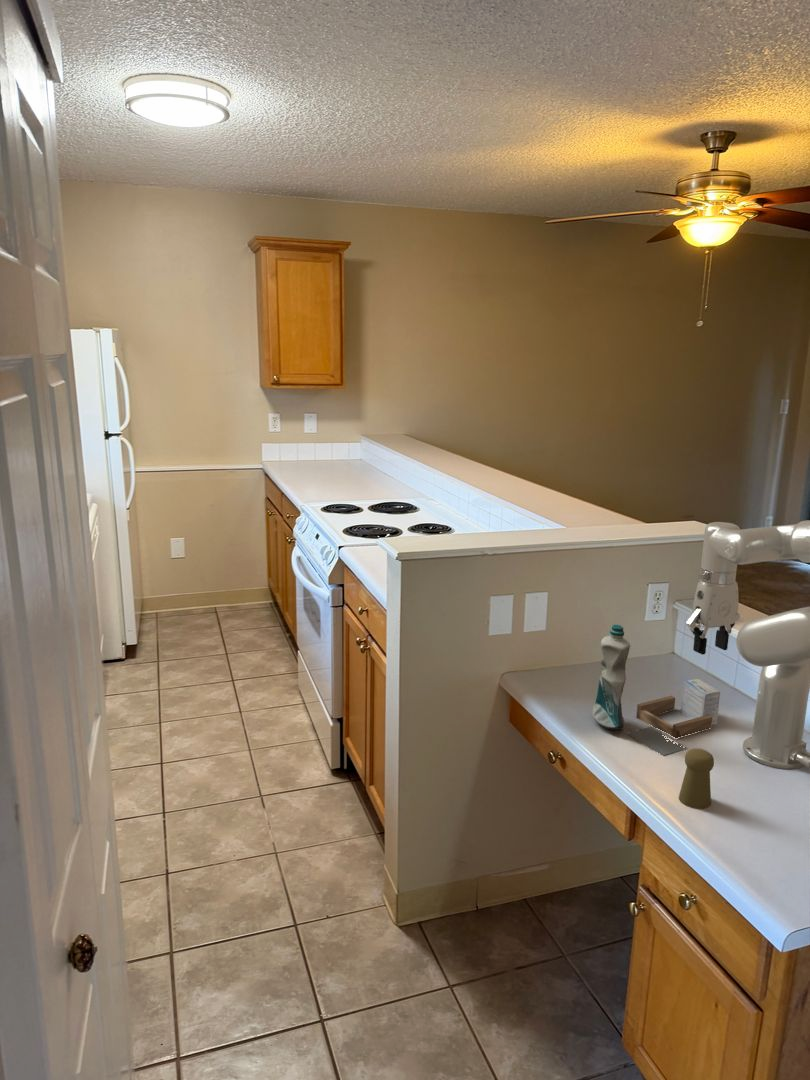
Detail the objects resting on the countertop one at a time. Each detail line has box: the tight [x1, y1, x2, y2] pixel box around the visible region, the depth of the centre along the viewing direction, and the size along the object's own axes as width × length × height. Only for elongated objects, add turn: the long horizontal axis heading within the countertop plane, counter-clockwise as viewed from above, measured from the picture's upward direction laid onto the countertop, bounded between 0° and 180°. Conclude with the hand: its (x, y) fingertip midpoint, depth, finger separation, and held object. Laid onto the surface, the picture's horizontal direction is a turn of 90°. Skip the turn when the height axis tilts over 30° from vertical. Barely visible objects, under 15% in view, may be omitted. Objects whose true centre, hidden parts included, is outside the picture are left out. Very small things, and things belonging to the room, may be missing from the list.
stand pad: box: [627, 726, 687, 757], centre depth 168 cm, size 11×7×1 cm, turn 27°
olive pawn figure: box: [678, 748, 715, 810], centre depth 144 cm, size 6×6×11 cm
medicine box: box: [680, 678, 721, 725], centre depth 179 cm, size 8×4×9 cm, turn 17°
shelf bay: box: [636, 695, 713, 738], centre depth 177 cm, size 12×11×4 cm
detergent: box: [591, 624, 631, 730], centre depth 173 cm, size 13×7×25 cm, turn 5°
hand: (710, 649), depth 176 cm, fingers open, 6 cm apart
